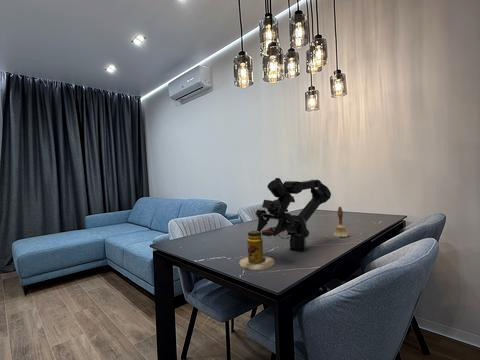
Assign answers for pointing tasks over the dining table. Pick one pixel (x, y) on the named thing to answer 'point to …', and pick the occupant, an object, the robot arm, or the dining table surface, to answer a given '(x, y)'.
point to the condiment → (255, 248)
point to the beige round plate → (268, 264)
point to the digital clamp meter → (271, 232)
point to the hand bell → (340, 225)
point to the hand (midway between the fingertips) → (265, 233)
